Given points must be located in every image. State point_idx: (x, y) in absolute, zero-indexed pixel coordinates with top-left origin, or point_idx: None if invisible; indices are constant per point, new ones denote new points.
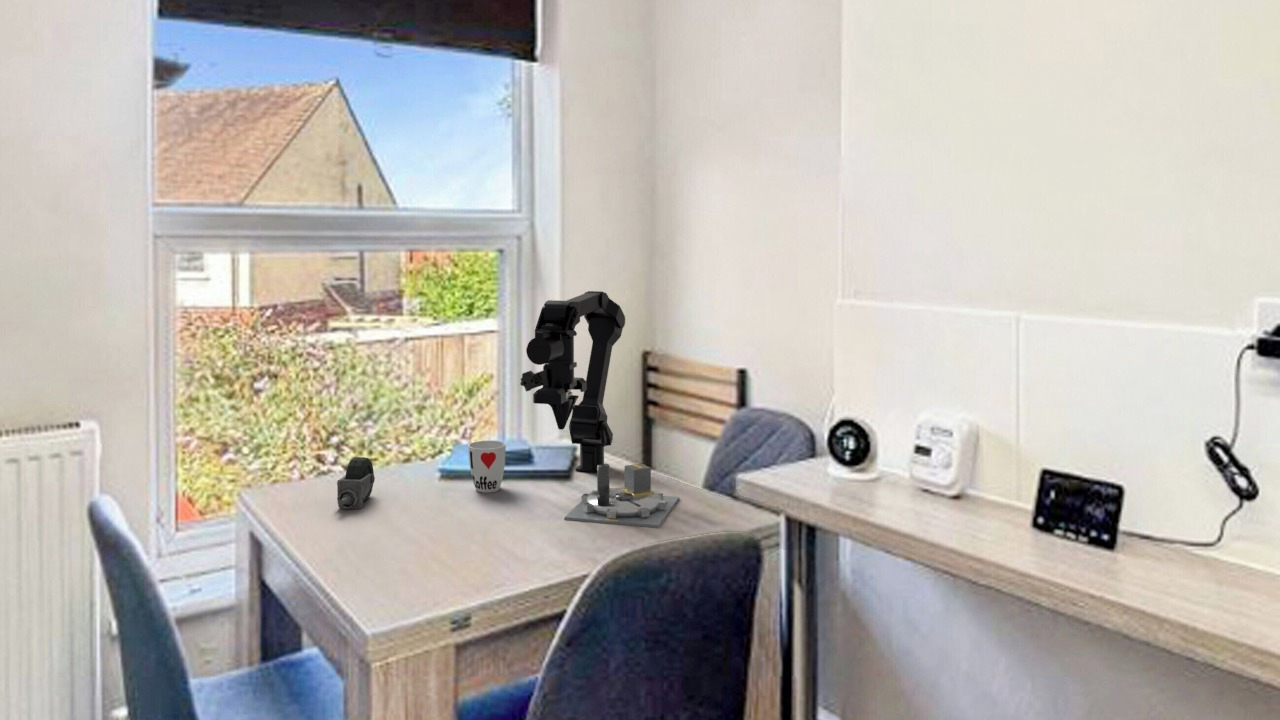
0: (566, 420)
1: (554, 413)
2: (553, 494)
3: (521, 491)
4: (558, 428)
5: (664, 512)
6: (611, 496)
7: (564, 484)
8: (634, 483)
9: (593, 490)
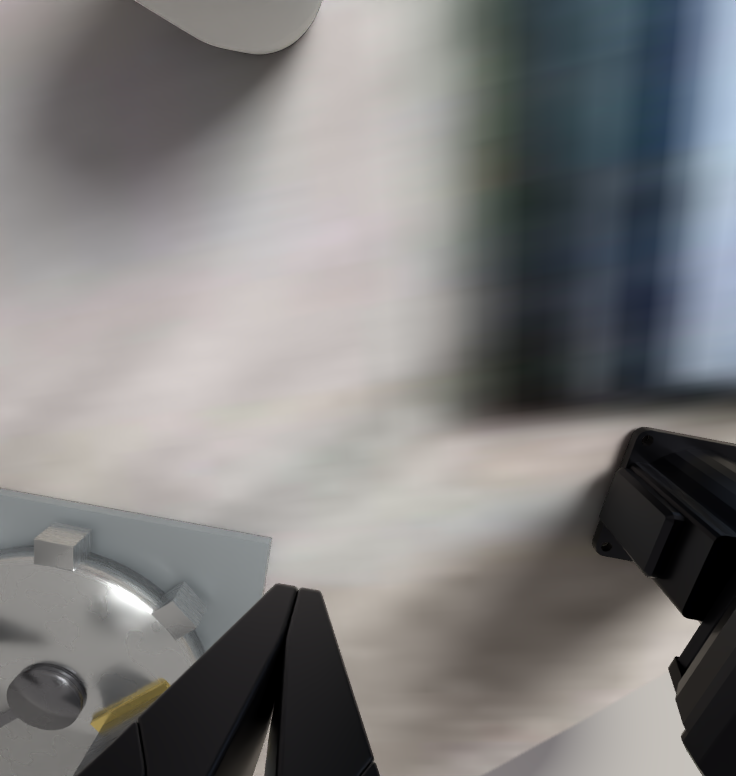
0: (266, 766)
1: (98, 767)
2: (218, 375)
3: (243, 201)
4: (275, 586)
5: None
6: (58, 650)
7: (390, 402)
8: (77, 772)
9: (266, 545)
